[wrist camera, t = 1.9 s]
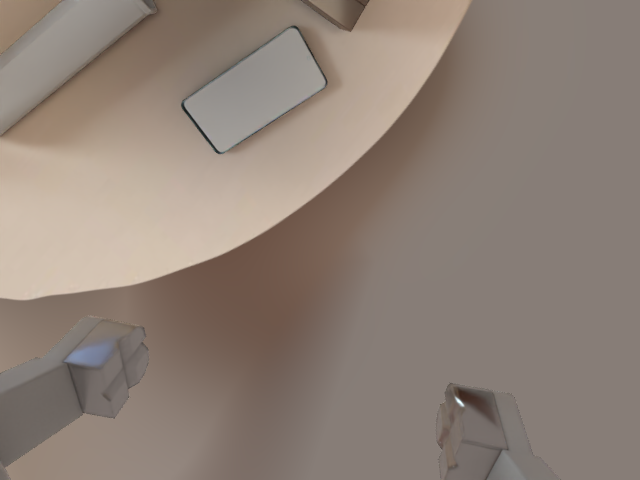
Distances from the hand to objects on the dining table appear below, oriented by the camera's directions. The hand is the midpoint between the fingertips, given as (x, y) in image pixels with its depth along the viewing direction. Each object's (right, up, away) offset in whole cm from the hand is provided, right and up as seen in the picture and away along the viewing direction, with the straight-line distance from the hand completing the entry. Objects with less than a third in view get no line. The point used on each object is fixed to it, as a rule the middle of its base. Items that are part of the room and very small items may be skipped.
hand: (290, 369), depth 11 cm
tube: (-27, +22, +31) cm, 46 cm away
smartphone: (-6, +20, +34) cm, 40 cm away
